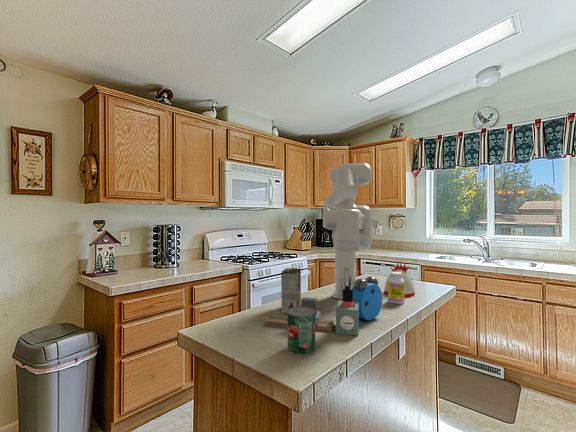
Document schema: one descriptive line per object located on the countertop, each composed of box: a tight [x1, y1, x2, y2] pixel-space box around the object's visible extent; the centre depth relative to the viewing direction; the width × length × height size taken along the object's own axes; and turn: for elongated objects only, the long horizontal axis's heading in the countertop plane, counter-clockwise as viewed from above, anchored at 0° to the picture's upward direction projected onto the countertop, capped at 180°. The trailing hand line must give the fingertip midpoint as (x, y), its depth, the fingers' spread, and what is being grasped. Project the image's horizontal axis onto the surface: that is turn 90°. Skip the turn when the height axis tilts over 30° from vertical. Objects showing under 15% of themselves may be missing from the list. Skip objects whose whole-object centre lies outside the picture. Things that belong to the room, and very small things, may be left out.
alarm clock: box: [352, 276, 384, 321], centre depth 113 cm, size 13×6×15 cm, turn 130°
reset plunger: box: [341, 300, 353, 307], centre depth 103 cm, size 4×4×5 cm
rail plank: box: [264, 314, 335, 333], centre depth 107 cm, size 7×23×2 cm, turn 76°
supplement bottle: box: [387, 271, 405, 305], centre depth 134 cm, size 7×7×13 cm
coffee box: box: [280, 267, 302, 314], centre depth 124 cm, size 9×6×16 cm
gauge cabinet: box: [335, 299, 360, 336], centre depth 102 cm, size 10×7×8 cm, turn 166°
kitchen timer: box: [383, 262, 416, 298], centre depth 149 cm, size 14×14×15 cm
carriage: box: [301, 297, 322, 325], centre depth 106 cm, size 8×7×7 cm
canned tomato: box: [287, 307, 316, 357], centre depth 87 cm, size 8×8×11 cm
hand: (347, 301), depth 103 cm, fingers closed
